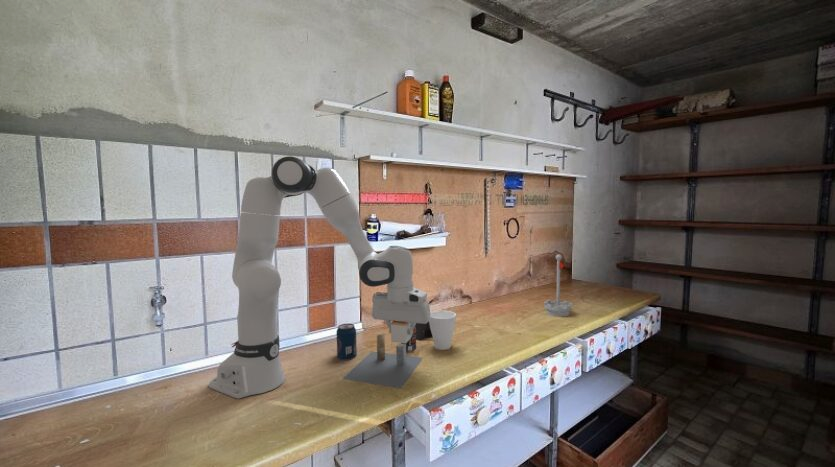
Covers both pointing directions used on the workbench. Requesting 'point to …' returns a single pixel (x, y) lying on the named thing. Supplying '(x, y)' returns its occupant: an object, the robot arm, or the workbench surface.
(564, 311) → the flag stand
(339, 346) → the soda can
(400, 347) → the steel post
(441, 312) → the cup
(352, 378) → the board
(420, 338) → the door stopper
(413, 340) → the supplement bottle
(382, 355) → the birch dowel
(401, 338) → the white block tan top
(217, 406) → the workbench surface
